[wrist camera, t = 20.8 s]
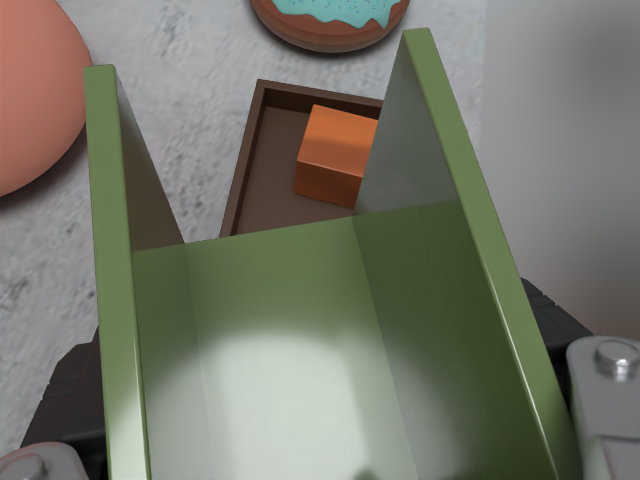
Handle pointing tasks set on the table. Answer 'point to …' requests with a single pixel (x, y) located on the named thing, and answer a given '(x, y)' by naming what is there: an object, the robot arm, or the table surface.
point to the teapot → (38, 88)
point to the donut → (330, 21)
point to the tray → (281, 158)
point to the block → (333, 155)
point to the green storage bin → (323, 317)
